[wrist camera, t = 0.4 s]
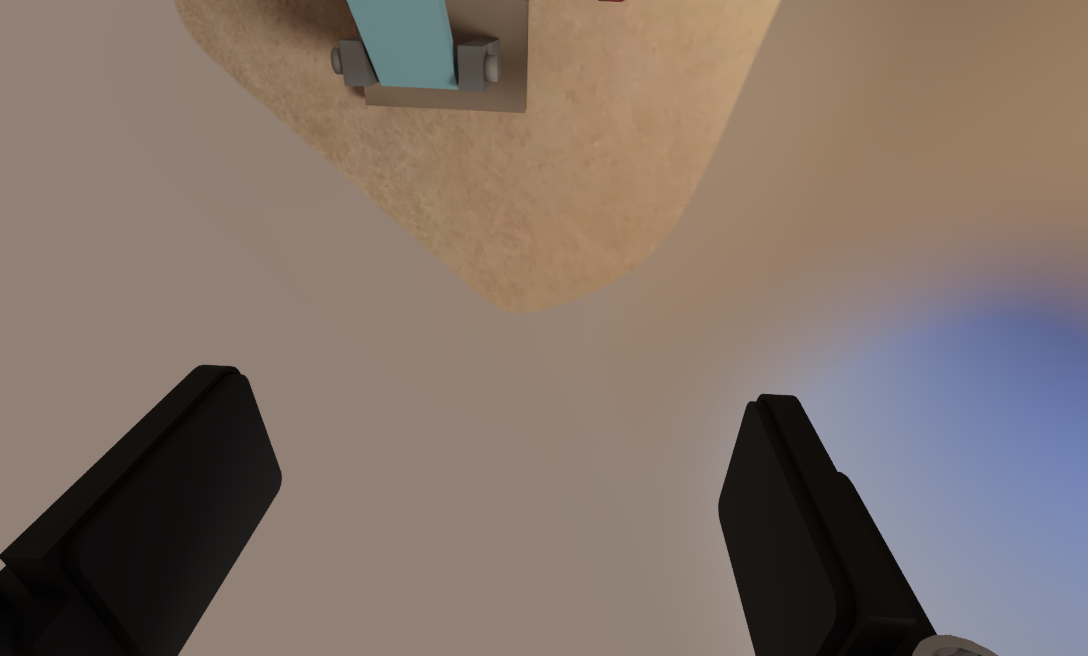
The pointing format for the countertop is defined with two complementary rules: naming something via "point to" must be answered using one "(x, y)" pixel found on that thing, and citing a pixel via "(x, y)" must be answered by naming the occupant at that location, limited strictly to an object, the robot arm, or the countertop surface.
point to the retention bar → (408, 42)
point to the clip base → (482, 54)
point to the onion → (613, 0)
